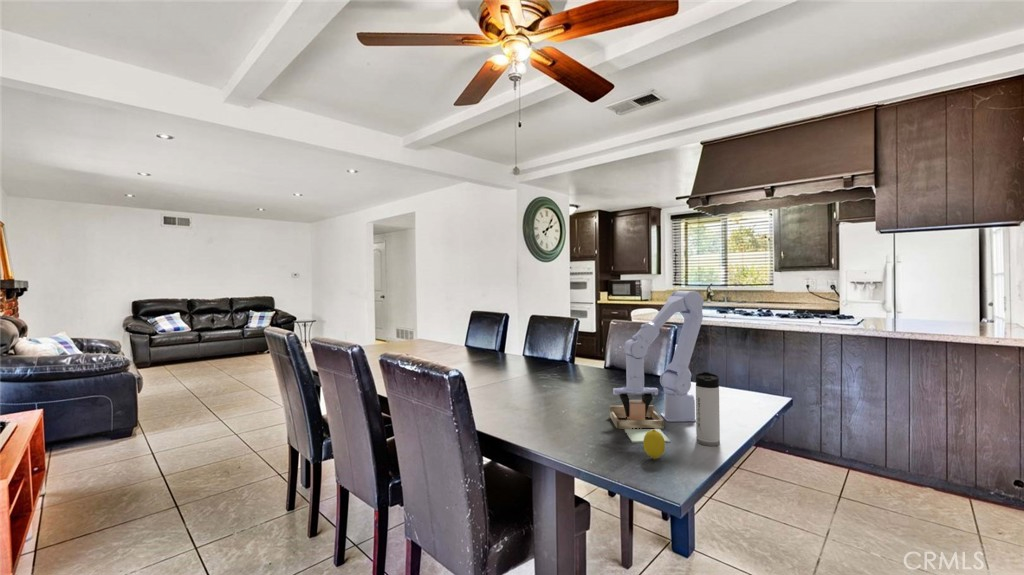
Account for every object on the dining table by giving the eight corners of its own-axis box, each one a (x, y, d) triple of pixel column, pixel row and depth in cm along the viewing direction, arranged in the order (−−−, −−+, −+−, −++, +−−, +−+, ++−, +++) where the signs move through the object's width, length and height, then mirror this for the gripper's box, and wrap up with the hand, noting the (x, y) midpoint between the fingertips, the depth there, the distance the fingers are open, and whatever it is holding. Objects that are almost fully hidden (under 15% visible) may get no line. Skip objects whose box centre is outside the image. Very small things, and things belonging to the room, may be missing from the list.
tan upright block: (641, 420, 149) (641, 399, 149) (645, 424, 144) (645, 403, 144) (626, 420, 149) (626, 399, 149) (630, 425, 144) (629, 403, 144)
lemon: (640, 455, 119) (639, 426, 119) (660, 454, 120) (659, 425, 119) (648, 464, 114) (648, 433, 113) (669, 463, 114) (668, 432, 114)
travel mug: (718, 439, 130) (717, 372, 130) (721, 447, 124) (720, 377, 123) (695, 437, 132) (694, 371, 132) (697, 445, 126) (696, 376, 125)
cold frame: (653, 416, 152) (653, 405, 152) (664, 428, 140) (663, 416, 140) (610, 417, 153) (609, 405, 153) (617, 428, 141) (616, 416, 141)
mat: (659, 430, 138) (659, 429, 138) (670, 442, 128) (670, 440, 128) (624, 430, 139) (624, 429, 139) (632, 442, 129) (632, 440, 129)
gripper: (615, 378, 142) (616, 419, 143) (660, 378, 142) (661, 419, 142) (611, 373, 149) (612, 413, 150) (654, 373, 149) (655, 412, 149)
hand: (635, 416), depth 146 cm, fingers closed on tan upright block, 5 cm apart
